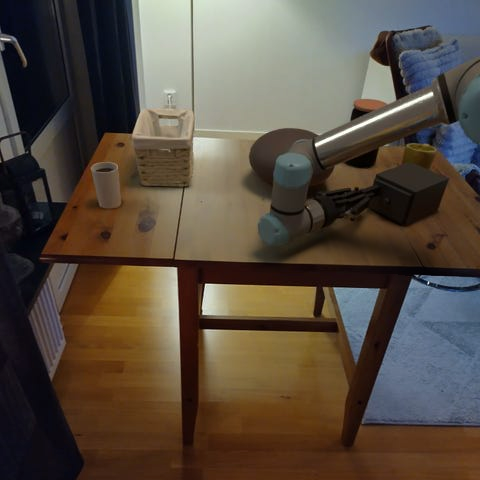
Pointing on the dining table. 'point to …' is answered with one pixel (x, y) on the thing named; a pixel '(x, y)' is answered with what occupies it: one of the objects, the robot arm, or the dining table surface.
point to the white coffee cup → (107, 184)
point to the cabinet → (417, 189)
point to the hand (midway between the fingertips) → (376, 190)
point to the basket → (164, 147)
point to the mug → (419, 155)
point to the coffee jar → (359, 110)
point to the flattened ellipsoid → (279, 153)
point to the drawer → (391, 200)
